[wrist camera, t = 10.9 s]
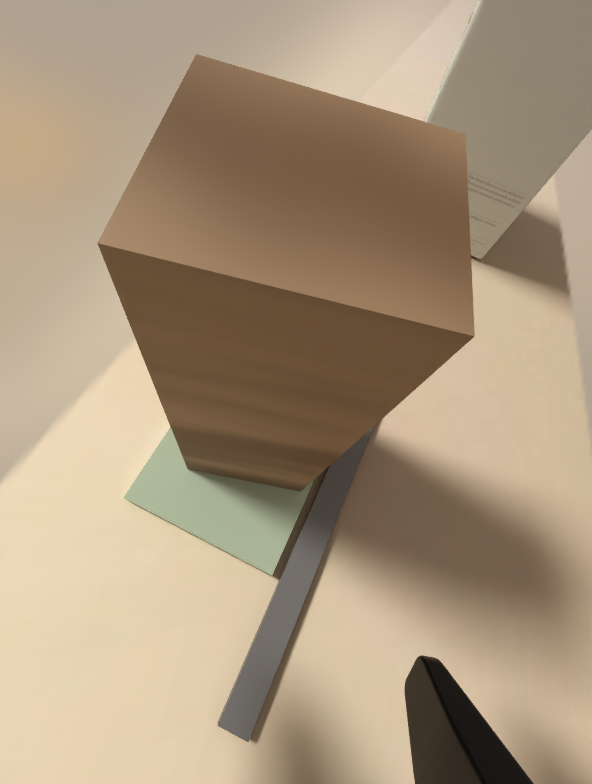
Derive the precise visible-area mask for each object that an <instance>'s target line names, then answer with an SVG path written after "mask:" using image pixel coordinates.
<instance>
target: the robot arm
mask: <svg viewBox="0 0 592 784" xmlns="http://www.w3.org/2000/svg"><path fill="white" fill-rule="evenodd" d="M405 700H406V709H407V718H408V727H409V736H410V745H411V754H412V763H413V772H414V779H415V784H533V782H532V781H531V780H530V778H529V777H528V776H527V774H526V773H525V772H524V770H523V769H522V768H521V766H520V765H519V764H518V763H517V761H516V760H515V759H514V757H513V756H512V755H511V753H510V752H509V751H508V749H507V748H506V747H505V745H504V744H503V743H502V741H501V740H500V739H499V737H498V736H497V735H496V734H495V732H494V731H493V730H492V728H491V727H490V726H489V724H488V723H487V722H486V720H485V719H484V718H483V716H482V715H481V714H480V712H479V711H478V710H477V708H476V707H475V706H474V705H473V703H472V702H471V701H470V699H469V698H468V697H467V695H466V694H465V693H464V691H463V690H462V689H461V687H460V686H459V685H458V683H457V682H456V681H455V680H454V678H453V677H452V676H451V674H450V673H449V672H448V670H447V669H446V668H445V666H444V665H443V664H442V663H441V662H440V661H439V660H438V659H436V658H433V657H428V656H419V657H418V658H417V659H416V661H415V663H414V665H413V667H412V669H411V671H410V673H409V675H408V677H407V679H406V682H405Z"/></svg>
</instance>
